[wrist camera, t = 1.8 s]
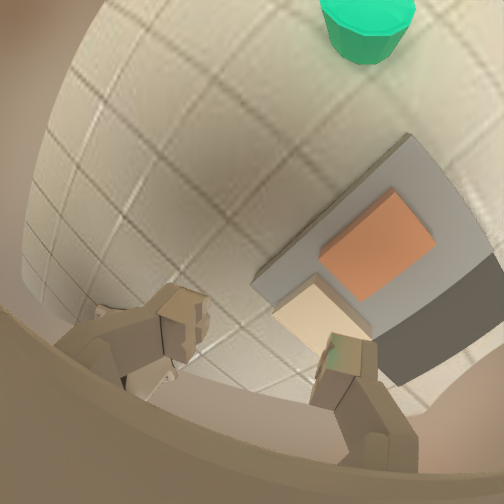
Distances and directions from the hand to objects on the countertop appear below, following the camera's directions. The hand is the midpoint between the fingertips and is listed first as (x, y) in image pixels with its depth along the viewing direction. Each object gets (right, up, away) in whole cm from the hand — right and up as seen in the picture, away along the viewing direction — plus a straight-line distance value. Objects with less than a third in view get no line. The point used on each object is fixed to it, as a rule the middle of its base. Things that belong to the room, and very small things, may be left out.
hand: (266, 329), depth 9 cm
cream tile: (+7, -4, +22) cm, 23 cm away
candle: (+9, +22, +11) cm, 26 cm away
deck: (+12, +2, +20) cm, 23 cm away
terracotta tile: (+11, +3, +16) cm, 20 cm away
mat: (+22, -6, +20) cm, 31 cm away
